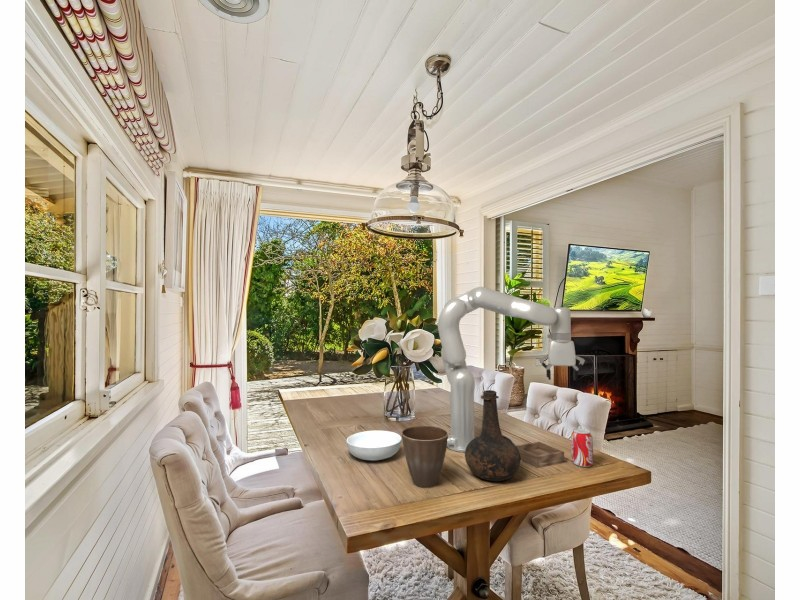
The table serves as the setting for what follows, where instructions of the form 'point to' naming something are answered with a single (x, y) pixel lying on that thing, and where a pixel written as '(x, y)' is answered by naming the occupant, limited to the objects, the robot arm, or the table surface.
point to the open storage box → (540, 454)
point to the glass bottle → (492, 446)
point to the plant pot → (425, 453)
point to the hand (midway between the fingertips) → (562, 379)
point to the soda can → (582, 447)
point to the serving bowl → (374, 444)
